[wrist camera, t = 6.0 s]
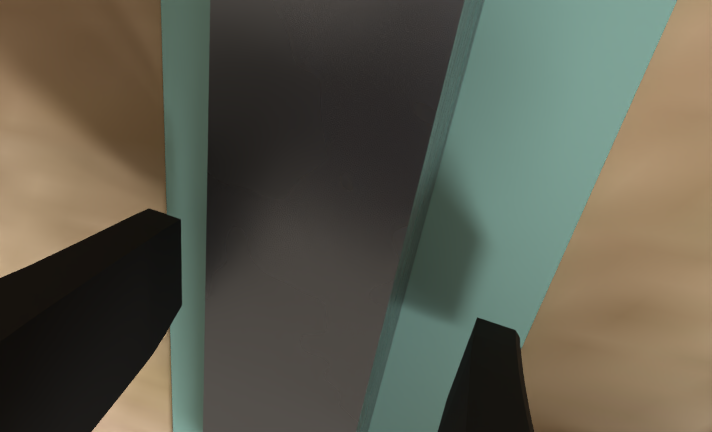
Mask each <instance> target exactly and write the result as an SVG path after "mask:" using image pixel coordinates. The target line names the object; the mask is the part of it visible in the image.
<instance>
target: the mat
mask: <svg viewBox="0 0 712 432" xmlns="http://www.w3.org/2000/svg"><path fill="white" fill-rule="evenodd" d="M676 2H677V0H485V1H484V5H483V8H482V12H481V16H480V19H479V23H478V27H477V31H476V34H475V38H474V42H473V45H472V49H471V53H470V56H469V60H468V64H467V68H466V71H465V75H464V79H463V82H462V86H461V90H460V93H459V97H458V101H457V105H456V108H455V112H454V116H453V119H452V123H451V127H450V130H449V134H448V138H447V142H446V145H445V149H444V153H443V156H442V160H441V164H440V168H439V171H438V175H437V179H436V182H435V186H434V190H433V193H432V197H431V201H430V205H429V208H428V212H427V216H426V219H425V223H424V227H423V230H422V234H421V238H420V242H419V245H418V249H417V253H416V256H415V260H414V264H413V267H412V271H411V275H410V279H409V282H408V286H407V290H406V293H405V297H404V301H403V304H402V308H401V312H400V316H399V319H398V323H397V327H396V330H395V334H394V338H393V342H392V345H391V349H390V353H389V356H388V360H387V364H386V367H385V371H384V375H383V379H382V382H381V386H380V390H379V393H378V397H377V401H376V404H375V408H374V412H373V416H372V419H371V423H370V427H369V430H368V432H438V429H439V425H440V422H441V418H442V414H443V411H444V407H445V404H446V400H447V397H448V394H449V392H450V389H451V386H452V384H453V381H454V378H455V376H456V373H457V370H458V368H459V365H460V362H461V359H462V357H463V354H464V351H465V349H466V346H467V343H468V341H469V338H470V335H471V333H472V330H473V327H474V325H475V322H476V319H477V317H478V318H481V319H484V320H487V321H490V322H493V323H496V324H499V325H502V326H505V327H508V328H511V329H514V330H516V332H517V333H518V335H519V337H520V347H521V348H522V346H523V343H524V341H525V339H526V337H527V335H528V332H529V330H530V328H531V326H532V323H533V321H534V319H535V317H536V314H537V312H538V310H539V308H540V306H541V303H542V301H543V299H544V297H545V294H546V292H547V290H548V288H549V285H550V283H551V281H552V279H553V276H554V274H555V272H556V270H557V268H558V265H559V263H560V261H561V259H562V256H563V254H564V252H565V250H566V247H567V245H568V243H569V241H570V238H571V236H572V234H573V232H574V230H575V227H576V225H577V223H578V221H579V218H580V216H581V214H582V212H583V209H584V207H585V205H586V203H587V201H588V198H589V196H590V194H591V192H592V189H593V187H594V185H595V183H596V180H597V178H598V176H599V174H600V171H601V169H602V167H603V165H604V163H605V160H606V158H607V156H608V154H609V151H610V149H611V147H612V145H613V142H614V140H615V138H616V136H617V134H618V131H619V129H620V127H621V125H622V122H623V120H624V118H625V116H626V113H627V111H628V109H629V107H630V104H631V102H632V100H633V98H634V96H635V93H636V91H637V89H638V87H639V84H640V82H641V80H642V78H643V75H644V73H645V71H646V69H647V66H648V64H649V62H650V60H651V58H652V55H653V53H654V51H655V49H656V46H657V44H658V42H659V40H660V37H661V35H662V33H663V31H664V29H665V26H666V24H667V22H668V20H669V17H670V15H671V13H672V11H673V8H674V6H675V4H676ZM161 25H162V60H163V95H164V130H165V165H166V201H167V215H170V216H173V217H176V218H179V219H181V255H182V306H181V308H180V310H179V312H178V313H177V315H176V317H175V318H174V320H173V322H172V324H171V325H170V341H171V376H172V411H173V432H203V394H204V335H205V277H206V218H207V159H208V100H209V41H210V0H161Z"/></svg>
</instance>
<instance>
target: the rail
mask: <svg viewBox="0 0 712 432" xmlns="http://www.w3.org/2000/svg"><path fill="white" fill-rule="evenodd" d="M484 1H485V0H210V41H209V100H208V159H207V218H206V277H205V335H204V394H203V432H368V430H369V427H370V423H371V419H372V416H373V412H374V408H375V404H376V401H377V397H378V393H379V390H380V386H381V382H382V379H383V375H384V371H385V367H386V364H387V360H388V356H389V353H390V349H391V345H392V342H393V338H394V334H395V330H396V327H397V323H398V319H399V316H400V312H401V308H402V304H403V301H404V297H405V293H406V290H407V286H408V282H409V279H410V275H411V271H412V267H413V264H414V260H415V256H416V253H417V249H418V245H419V242H420V238H421V234H422V230H423V227H424V223H425V219H426V216H427V212H428V208H429V205H430V201H431V197H432V193H433V190H434V186H435V182H436V179H437V175H438V171H439V168H440V164H441V160H442V156H443V153H444V149H445V145H446V142H447V138H448V134H449V130H450V127H451V123H452V119H453V116H454V112H455V108H456V105H457V101H458V97H459V93H460V90H461V86H462V82H463V79H464V75H465V71H466V68H467V64H468V60H469V56H470V53H471V49H472V45H473V42H474V38H475V34H476V31H477V27H478V23H479V19H480V16H481V12H482V8H483V5H484Z"/></svg>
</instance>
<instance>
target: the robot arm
mask: <svg viewBox="0 0 712 432" xmlns="http://www.w3.org/2000/svg"><path fill="white" fill-rule="evenodd" d="M181 306H182V255H181V219H179V218H176V217H173V216H170V215H167V214H164V213H161V212H158V211H155V210H152V209H147V210H145V211H142V212H140V213H138V214H136V215H134V216H131V217H129V218H127V219H125V220H123V221H121V222H119V223H117V224H115V225H113V226H111V227H109V228H107V229H105V230H103V231H101V232H99V233H97V234H94V235H92V236H90V237H88V238H86V239H84V240H82V241H80V242H78V243H76V244H74V245H72V246H70V247H68V248H65V249H63V250H61V251H59V252H57V253H55V254H53V255H51V256H49V257H46V258H44V259H42V260H40V261H38V262H36V263H34V264H32V265H29V266H27V267H25V268H23V269H20V270H18V271H16V272H13V273H11V274H9V275H6V276H4V277H2V278H0V432H92V430H93V429H94V428H95V427H96V425H97V424H98V423H99V422H100V420H101V419H102V418H103V417H104V415H105V414H106V413H107V412H108V410H109V409H110V408H111V407H112V405H113V404H114V403H115V402H116V400H117V399H118V398H119V397H120V395H121V394H122V393H123V392H124V390H125V389H126V388H127V387H128V385H129V384H130V383H131V381H132V380H133V379H134V378H135V376H136V375H137V374H138V373H139V371H140V370H141V369H142V367H143V366H144V365H145V364H146V362H147V361H148V360H149V358H150V357H151V356H152V354H153V353H154V351H155V350H156V348H157V347H158V345H159V343H160V342H161V340H162V339H163V337H164V335H165V334H166V332H167V330H168V329H169V327H170V325H171V324H172V322H173V320H174V318H175V317H176V315H177V313H178V312H179V310H180V308H181ZM438 432H534V429H533V425H532V420H531V415H530V410H529V405H528V399H527V394H526V388H525V382H524V375H523V367H522V358H521V347H520V337H519V335H518V333H517V332H516V330H514V329H511V328H508V327H505V326H502V325H499V324H496V323H493V322H490V321H487V320H484V319H481V318H478V317H477V319H476V322H475V325H474V327H473V330H472V333H471V335H470V338H469V341H468V343H467V346H466V349H465V351H464V354H463V357H462V359H461V362H460V365H459V368H458V370H457V373H456V376H455V378H454V381H453V384H452V386H451V389H450V392H449V394H448V397H447V400H446V404H445V407H444V411H443V414H442V418H441V422H440V425H439V429H438Z"/></svg>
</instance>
